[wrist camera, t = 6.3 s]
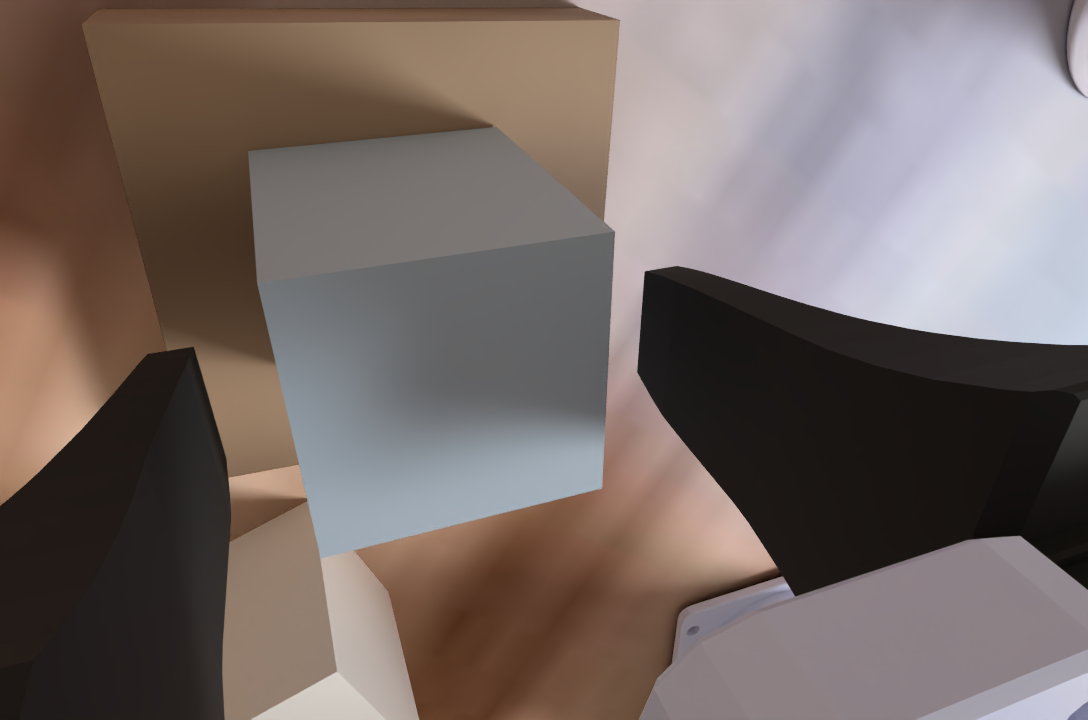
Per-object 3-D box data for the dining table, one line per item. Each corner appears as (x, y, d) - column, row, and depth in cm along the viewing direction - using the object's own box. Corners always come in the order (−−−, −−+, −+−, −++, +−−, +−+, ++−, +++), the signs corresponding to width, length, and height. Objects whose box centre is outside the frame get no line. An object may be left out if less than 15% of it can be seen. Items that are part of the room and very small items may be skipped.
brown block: (553, 361, 21) (588, 410, 19) (203, 417, 18) (201, 482, 16) (570, 5, 16) (620, 20, 14) (102, 5, 13) (81, 24, 11)
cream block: (388, 591, 22) (429, 762, 18) (250, 666, 22) (257, 859, 18) (311, 497, 20) (336, 671, 15) (152, 581, 19) (132, 784, 15)
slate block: (503, 331, 17) (601, 488, 12) (295, 368, 15) (320, 558, 11) (496, 126, 14) (615, 232, 10) (248, 151, 13) (257, 283, 9)
